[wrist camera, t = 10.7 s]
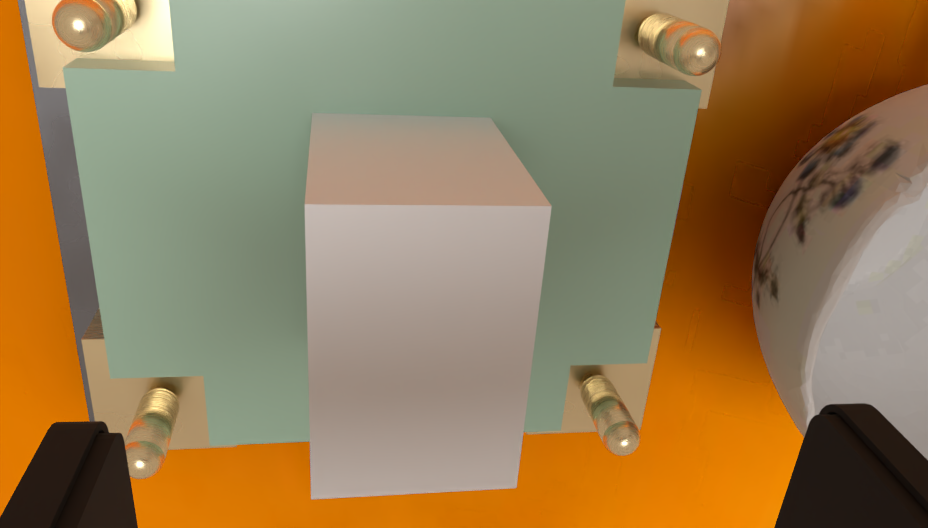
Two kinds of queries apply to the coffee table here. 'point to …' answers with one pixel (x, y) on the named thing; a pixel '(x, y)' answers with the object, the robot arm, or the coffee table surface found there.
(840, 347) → the teacup
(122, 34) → the chassis
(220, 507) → the coffee table surface
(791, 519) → the robot arm
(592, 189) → the circuit board
